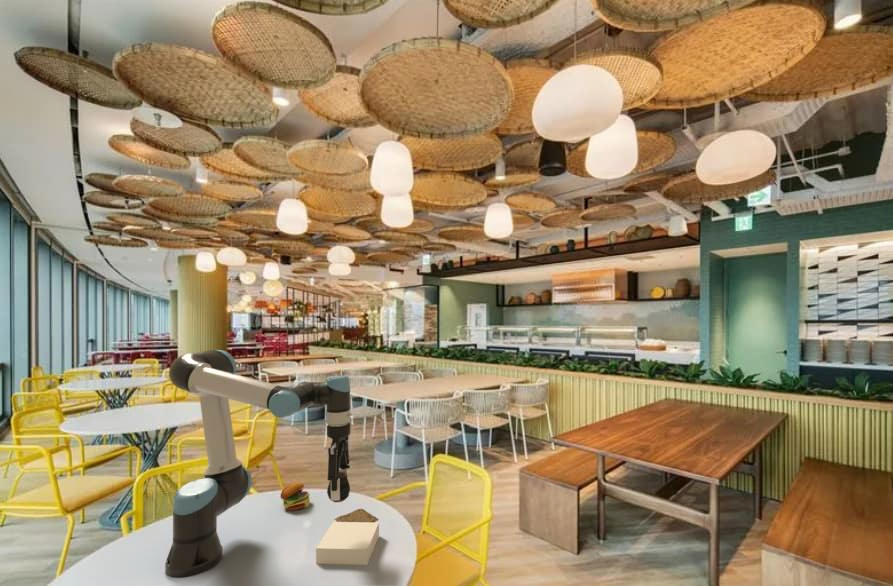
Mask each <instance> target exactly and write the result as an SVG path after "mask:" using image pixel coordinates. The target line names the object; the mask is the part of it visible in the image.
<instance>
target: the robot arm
mask: <svg viewBox="0 0 893 586" xmlns="http://www.w3.org/2000/svg"><path fill="white" fill-rule="evenodd" d="M169 367H170V368H169V371H168V377H169V380H170V381H171V382H170V383H171V384H173V385H174V386H175V387H176V388H178V389H180V390H182V391H186V392H188V393H189V392H190V393H192V394H195V395H197V396H198V397H199V402H200V403H199V404H200V410H201V412H200V413H201V418H202V425H203V433H204V434H203V435H204V440H205V441H204V442H205V447H206V448H205V449H206V456H207V457H206V458H207V464H208V465H207V466H208V467H207V468H206V469H205V471H204V472H203V473H204V478H199V479H196V480H192V481H189V482H188V483H185V484H184V485H183V486H181V487H179V488H178V489H177V491H176V493H175V494H174V496H173V497H174V499H173V504H172V513H173V514H172V544H171V546H170V549H169V552H168V554H167V555H168V556H167V557H166V560H165V567H164V568H165V569H164V570H165V571H164V572H165V574H166V575H167V576H168V577H170V578H174V579H183V578H189V577H194V576H197V575H200V574H202V573H204V572H206V571H209V570H210V569H212V568H214V567H215V566H217V564H218V563H220V561H221V560H222V558H223V545H222V543H221V540H220V538H219V534H218V531H217V528H218V527H217V524H218V519H217V518H218V517H219V516H220V515H222V514H223V513H224V512H226V511H228V510H229V509H231V508H232V507H234V506H236V505H238V504H239V503H240V502H241V501H243V499H244V498H246V497H247V496H248V494H249V492H250V491H251V488H252V484H253V483H252V482H253V481H252V474H251V473H250V471H249V470H247V467H245V466H244V465H243V462H242V461H241V459H238V458H237V453H236V444H235V437H234V429H233V423H232V416H231V415H232V414H231V410H230V409H231V407H230V402H229V400H231V401H236V402H240V403H243V404H247V405H250V406H255V407H259V408H262V409H265V410H269V412H270V413H271V414H272V415H273V416H274V417H276V418H280V419H281V418H283V419H284V418H285V417H291V416H292V415H294V414H295V413H298V412H300V411H302V410H304V409H306V408H309V407H312V406H326V437H328V438H329V439H331V440H332V441H331V444H330V447H328V448H327V452H328V464H327V466H328V467H327V469H328V470H327V481H330V480H331V500H330V501H332V502H333V501H339V500H340V479H339V472H345V473H347V474H348V469H351V468H350V467H351V465H349V464H350V453H349V449H350V448H349V436H350V435H351V423H350V421H351V416H352V415H353V413H351V385H350V378H349V376H348V375H345V374H344V375H331V376H328V377H326V381H324V382H318V381H315V382H314V381H313V382H312V381H301V382H300V381H299V382H295V383H293V385H292V387H290V388H289V387H285V386H281V385H279V384H274V383H271V382H268V381H264V380H263V381H262V380H261V379H260V380H259V379H255V378H252V377H248V376H243V375H241V374H240V375H239V374H236V370H237V364H236V360H235V358H234V357H233V356H232V354H230V353H229V352H228V351H225V350H223V349H221V350H220V349H210V350H205V351H203V350H202V351H198V352H188V353H185V354H182V355H179V357H177V358H176V359H174V361H173V362H172V363H171V365H170V366H169Z"/></svg>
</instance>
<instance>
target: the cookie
mask: <svg viewBox="0 0 893 586" xmlns="http://www.w3.org/2000/svg"><path fill="white" fill-rule="evenodd" d="M334 521H335V522H375V523H376V522H377V521H379V518H378V517H376V516H375V515H373V514H372V513H370V512H369V511H366V510H365V509H364V508H358V509H355V510H353V511H351V512H348V513H346V514H344V515H343V514H342V515H340V516H338V517H336V518H334Z"/></svg>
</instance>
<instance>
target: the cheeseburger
mask: <svg viewBox="0 0 893 586" xmlns="http://www.w3.org/2000/svg"><path fill="white" fill-rule="evenodd" d="M304 487H305V485H304V483H303V482H301V481H298V482H294V483H290V484H289V485H286V486H285V487H283V488H282V490H281V492H280V499H281V500H282V501H283V504H282V505H283V507H284V508H285V510H287V511H296V510H300V509H303V508H308V507H309V505H310V503H311V502H310V495H311V494H310V493H309V491H308V490H304V489H305V488H304Z"/></svg>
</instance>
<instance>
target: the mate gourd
mask: <svg viewBox="0 0 893 586" xmlns="http://www.w3.org/2000/svg"><path fill="white" fill-rule="evenodd" d="M339 479H340V500H339V501H332V502H333V503H341V502H344V501H346V500H347V498H348V497H349V496H350V492H351V486H350V482H349V479H348V472H347V473H345V472H339ZM326 492H327V496H328V499H329V500H330V501H331V480H329V483H328V485H327V490H326Z"/></svg>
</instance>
